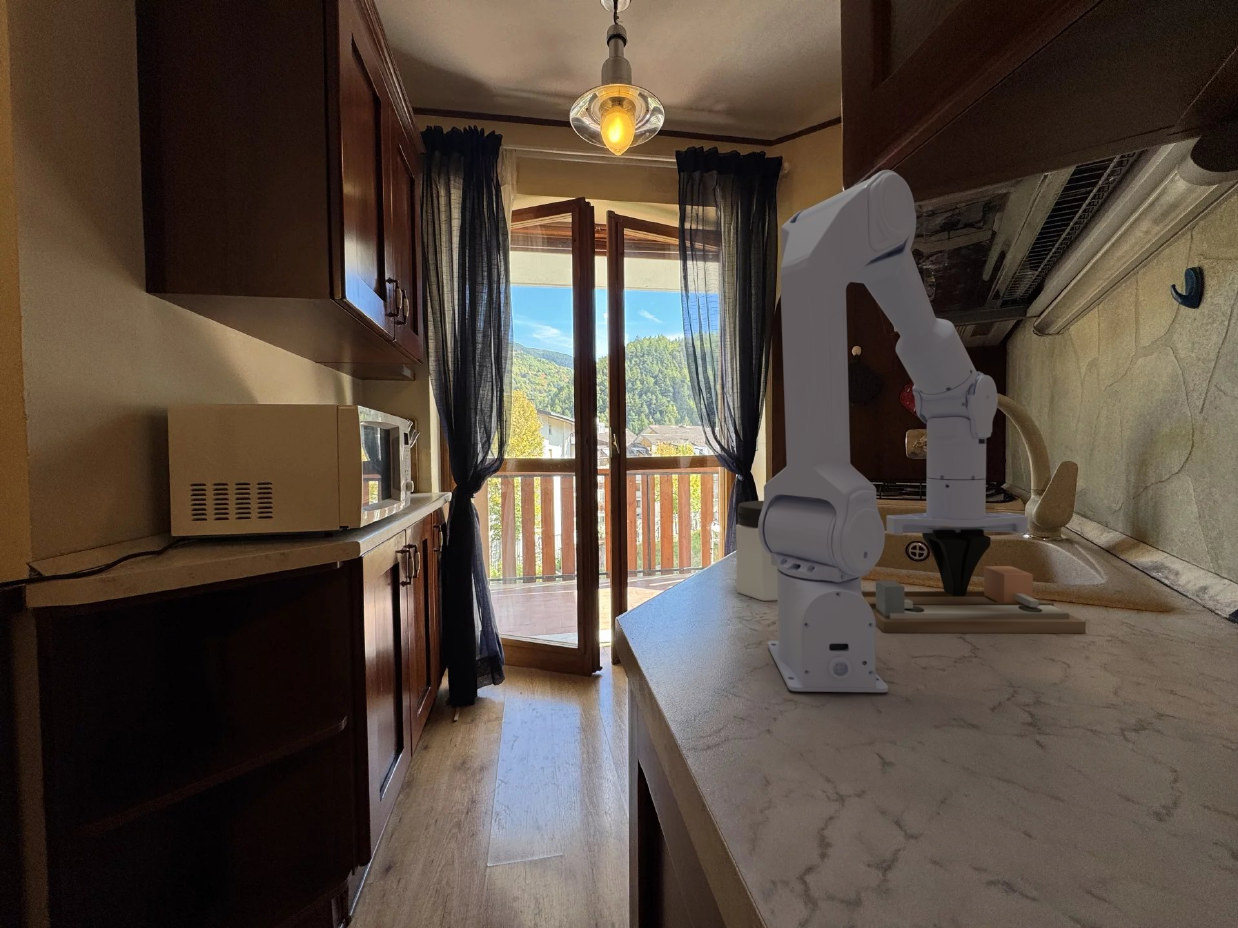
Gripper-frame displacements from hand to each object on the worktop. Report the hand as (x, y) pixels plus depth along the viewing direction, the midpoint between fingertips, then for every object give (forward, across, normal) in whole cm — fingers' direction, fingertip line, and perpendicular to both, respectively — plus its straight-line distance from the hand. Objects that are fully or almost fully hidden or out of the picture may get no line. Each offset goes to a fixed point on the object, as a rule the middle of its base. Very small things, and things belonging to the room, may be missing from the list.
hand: (954, 593), depth 59 cm
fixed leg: (+1, +8, +4) cm, 10 cm away
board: (+2, +1, +2) cm, 3 cm away
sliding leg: (+1, -6, +1) cm, 6 cm away
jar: (+2, +20, -8) cm, 21 cm away
